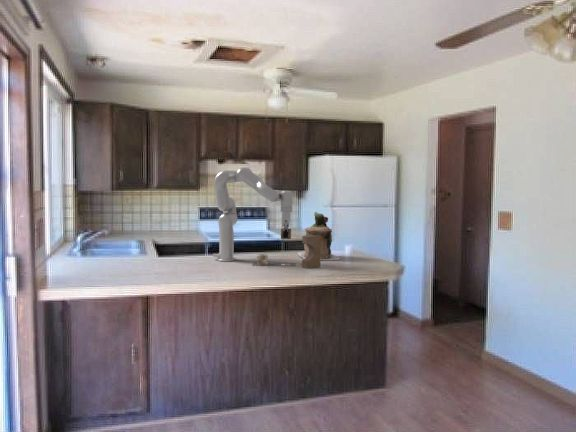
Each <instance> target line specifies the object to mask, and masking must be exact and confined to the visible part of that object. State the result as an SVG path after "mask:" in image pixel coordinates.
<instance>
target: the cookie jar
mask: <svg viewBox="0 0 576 432" xmlns="http://www.w3.org/2000/svg"><path fill="white" fill-rule="evenodd" d="M313 214H314V222H315V223H314V224H312V225H311V226H309V227H305V228H304V231H305V236H308V235H320V236H321V249H320V262H321V261H322V262H323V261H339V260H340V257H339V256H337V255H335V254H333V253H332V249H331V246H332V242H333V235H332V233H333V231H332V228H330V227H329V226H328V225H327V223H328V222H329V217H327V216H325V215H324V214H323V213H318V212H316V211H315V212H314V213H313ZM303 247H304V252H297V255H298V257H301V258H302V260H304V259H305V258H306V257H307V256H308V254H309V248H308V246H307V245H306V244H303Z"/></svg>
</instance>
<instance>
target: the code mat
mask: <svg viewBox="0 0 576 432" xmlns="http://www.w3.org/2000/svg"><path fill="white" fill-rule="evenodd" d="M251 267H297V263H296V262H268V265H257V262H252V264H251Z"/></svg>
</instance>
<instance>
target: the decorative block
mask: <svg viewBox="0 0 576 432" xmlns="http://www.w3.org/2000/svg"><path fill="white" fill-rule="evenodd" d="M301 240H302V242H301V243H302V244H303V245H304V244H306V245H307V246H308V248H309V254H308V256H307V257H306V258H305V259H302V260H301V268H302V269H303V268H304V269H313V268H321V261H320V249H321V236H320V235H308V236H306V235H302V239H301Z"/></svg>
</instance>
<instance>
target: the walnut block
mask: <svg viewBox="0 0 576 432" xmlns="http://www.w3.org/2000/svg"><path fill="white" fill-rule="evenodd" d="M283 231H284V228H283V227H282V228H280V239H281V240H291V239H292V228H288V238H284V237H283Z"/></svg>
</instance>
